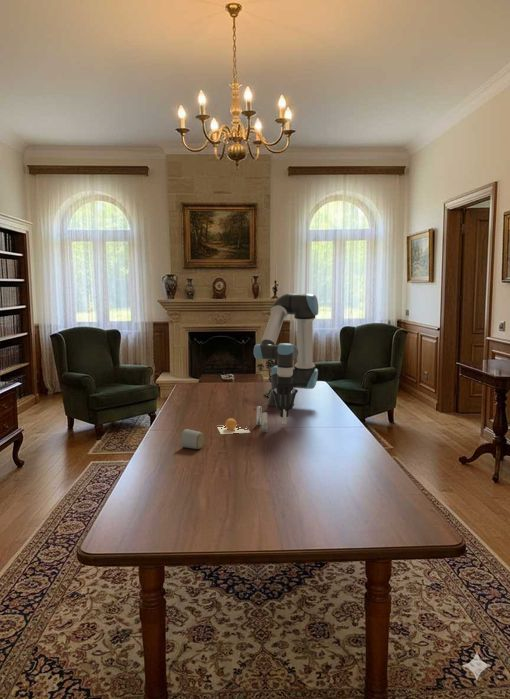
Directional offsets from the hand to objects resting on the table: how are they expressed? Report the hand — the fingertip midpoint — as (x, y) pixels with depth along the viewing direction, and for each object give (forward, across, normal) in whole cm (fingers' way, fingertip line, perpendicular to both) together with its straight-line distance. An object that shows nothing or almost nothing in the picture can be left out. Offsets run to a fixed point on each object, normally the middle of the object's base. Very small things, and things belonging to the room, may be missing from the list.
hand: (283, 423), depth 244 cm
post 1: (+2, +11, -6) cm, 13 cm away
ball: (-1, +26, +1) cm, 26 cm away
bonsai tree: (+2, -11, -68) cm, 69 cm away
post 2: (+2, +11, +6) cm, 13 cm away
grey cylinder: (+2, +46, +23) cm, 51 cm away
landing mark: (+2, +25, 0) cm, 25 cm away
